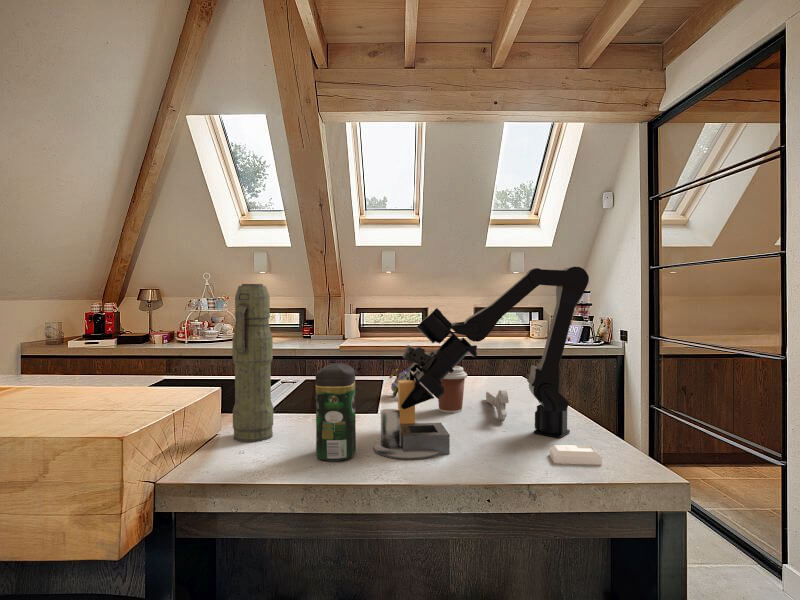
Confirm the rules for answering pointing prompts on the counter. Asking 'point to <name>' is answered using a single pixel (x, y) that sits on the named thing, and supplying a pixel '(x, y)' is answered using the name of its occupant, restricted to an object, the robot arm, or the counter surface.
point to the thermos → (252, 364)
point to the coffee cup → (452, 391)
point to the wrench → (498, 402)
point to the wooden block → (403, 392)
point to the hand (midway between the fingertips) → (400, 404)
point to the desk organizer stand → (410, 438)
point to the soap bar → (575, 454)
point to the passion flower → (401, 377)
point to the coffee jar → (335, 412)
